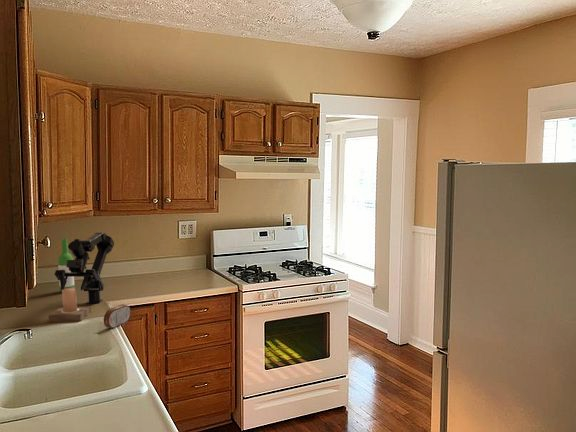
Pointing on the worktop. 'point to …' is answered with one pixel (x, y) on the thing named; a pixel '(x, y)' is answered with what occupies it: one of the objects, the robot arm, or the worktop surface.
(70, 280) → the wine bottle
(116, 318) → the tin
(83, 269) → the robot arm
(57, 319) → the base
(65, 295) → the column
